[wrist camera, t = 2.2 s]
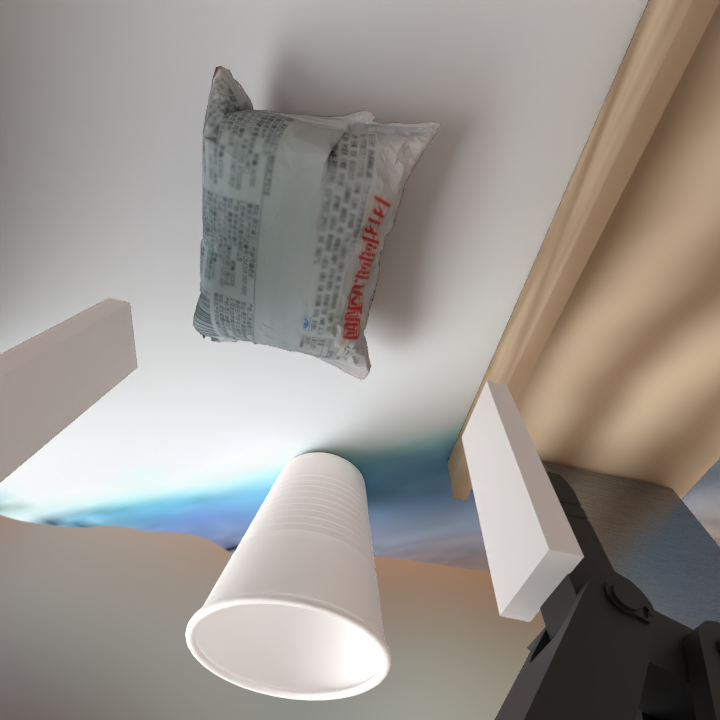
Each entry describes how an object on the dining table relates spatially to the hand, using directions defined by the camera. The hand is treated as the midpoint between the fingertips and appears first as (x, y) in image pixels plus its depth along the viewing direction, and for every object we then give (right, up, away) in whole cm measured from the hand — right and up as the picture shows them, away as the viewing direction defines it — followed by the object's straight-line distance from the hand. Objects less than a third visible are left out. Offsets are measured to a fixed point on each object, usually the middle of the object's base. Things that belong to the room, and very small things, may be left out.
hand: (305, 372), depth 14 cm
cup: (-1, -8, +14) cm, 16 cm away
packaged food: (+1, +4, +8) cm, 9 cm away
